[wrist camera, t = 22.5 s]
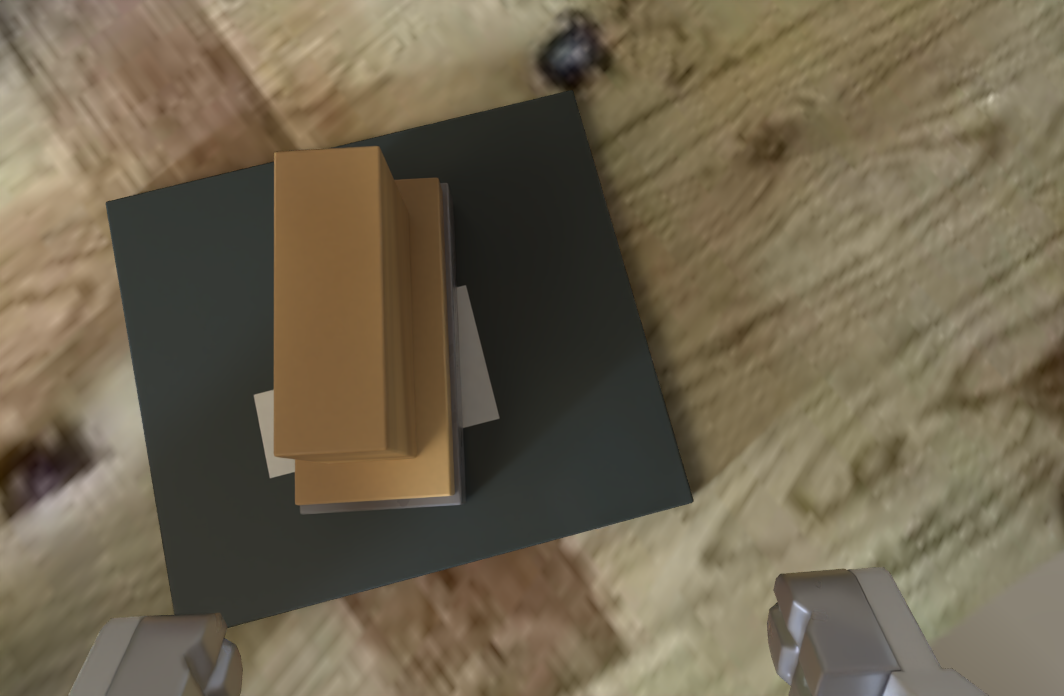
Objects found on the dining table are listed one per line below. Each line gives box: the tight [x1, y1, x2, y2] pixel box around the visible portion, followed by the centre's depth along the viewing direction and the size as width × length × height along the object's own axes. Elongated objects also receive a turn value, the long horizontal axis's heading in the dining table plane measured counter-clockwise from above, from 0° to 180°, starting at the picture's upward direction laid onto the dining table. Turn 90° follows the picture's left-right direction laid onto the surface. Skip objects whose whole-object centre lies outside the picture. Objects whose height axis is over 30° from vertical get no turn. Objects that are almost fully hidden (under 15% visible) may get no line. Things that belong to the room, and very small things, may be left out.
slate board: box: [106, 90, 693, 628], centre depth 28 cm, size 18×16×1 cm
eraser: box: [274, 146, 466, 514], centre depth 23 cm, size 5×11×8 cm, turn 4°
